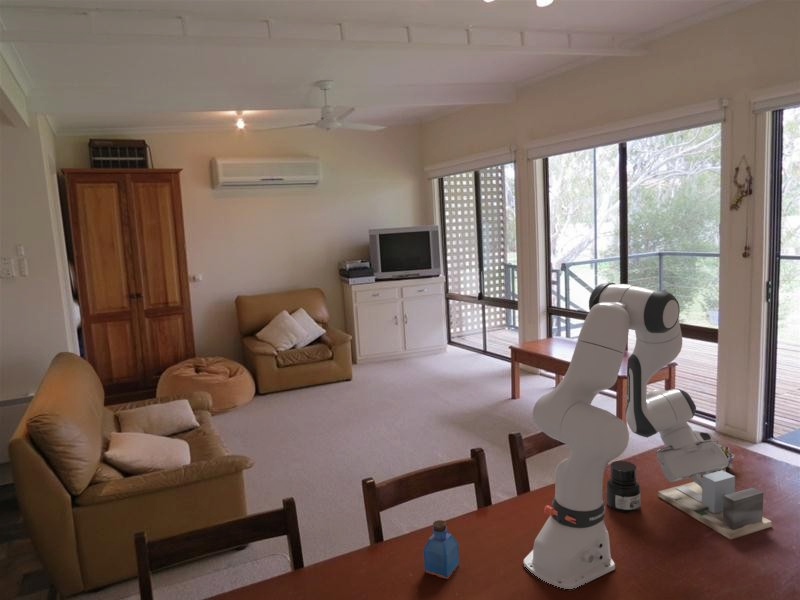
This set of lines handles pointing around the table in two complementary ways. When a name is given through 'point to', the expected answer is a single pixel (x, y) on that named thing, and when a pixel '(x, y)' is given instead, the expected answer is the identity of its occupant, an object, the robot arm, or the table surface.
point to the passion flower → (728, 455)
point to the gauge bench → (699, 490)
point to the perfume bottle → (441, 551)
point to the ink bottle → (623, 487)
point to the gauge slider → (716, 490)
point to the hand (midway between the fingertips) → (709, 489)
